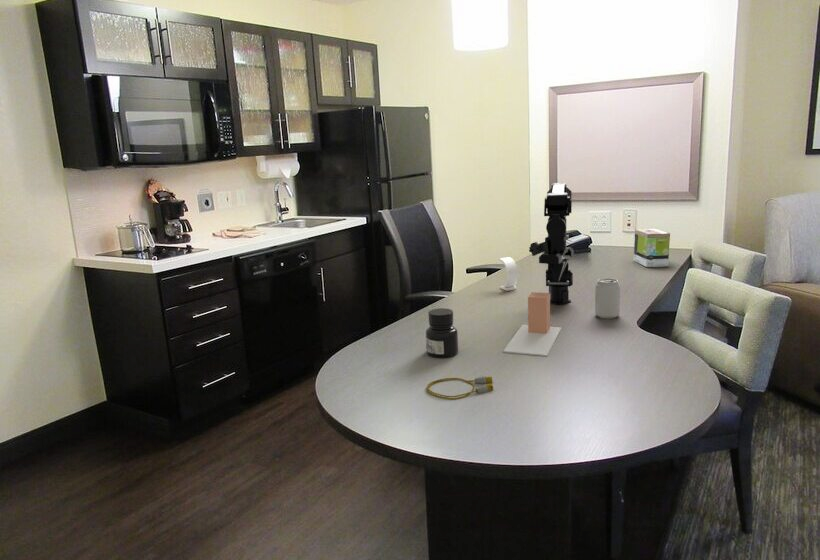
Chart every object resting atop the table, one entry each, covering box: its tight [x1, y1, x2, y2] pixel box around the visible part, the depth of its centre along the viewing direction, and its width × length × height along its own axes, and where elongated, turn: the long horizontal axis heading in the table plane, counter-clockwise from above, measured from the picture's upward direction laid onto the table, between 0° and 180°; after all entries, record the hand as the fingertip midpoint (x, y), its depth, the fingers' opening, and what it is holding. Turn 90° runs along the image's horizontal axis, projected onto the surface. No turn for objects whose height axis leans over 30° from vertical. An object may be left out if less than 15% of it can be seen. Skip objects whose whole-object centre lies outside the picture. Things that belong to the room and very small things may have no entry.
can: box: [594, 277, 621, 320], centre depth 184 cm, size 8×8×12 cm
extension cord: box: [426, 375, 494, 400], centre depth 137 cm, size 12×16×2 cm
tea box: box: [633, 228, 671, 268], centre depth 253 cm, size 15×10×15 cm, turn 179°
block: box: [527, 291, 551, 334], centre depth 173 cm, size 6×6×11 cm
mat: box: [502, 324, 562, 357], centre depth 167 cm, size 24×12×1 cm, turn 157°
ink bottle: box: [425, 307, 459, 359], centre depth 160 cm, size 10×9×12 cm
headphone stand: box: [498, 256, 519, 292], centre depth 224 cm, size 5×6×12 cm
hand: (556, 281), depth 185 cm, fingers closed
